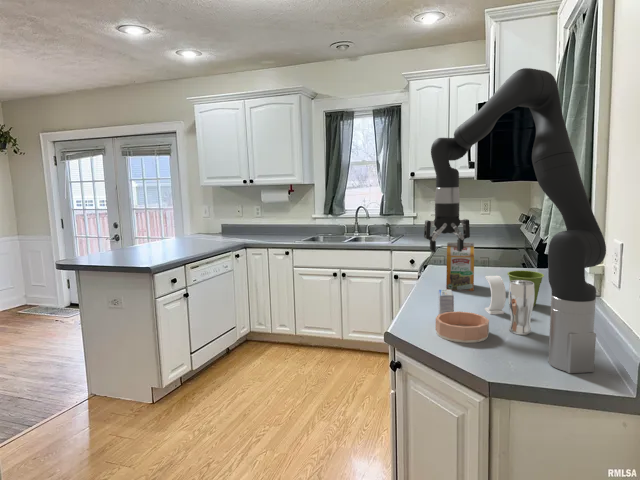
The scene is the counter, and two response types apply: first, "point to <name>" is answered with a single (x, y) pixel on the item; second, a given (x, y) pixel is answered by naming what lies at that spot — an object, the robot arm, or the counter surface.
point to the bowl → (462, 327)
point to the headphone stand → (496, 295)
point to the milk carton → (460, 267)
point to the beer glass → (521, 306)
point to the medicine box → (446, 301)
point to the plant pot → (528, 279)
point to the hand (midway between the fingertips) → (446, 251)
